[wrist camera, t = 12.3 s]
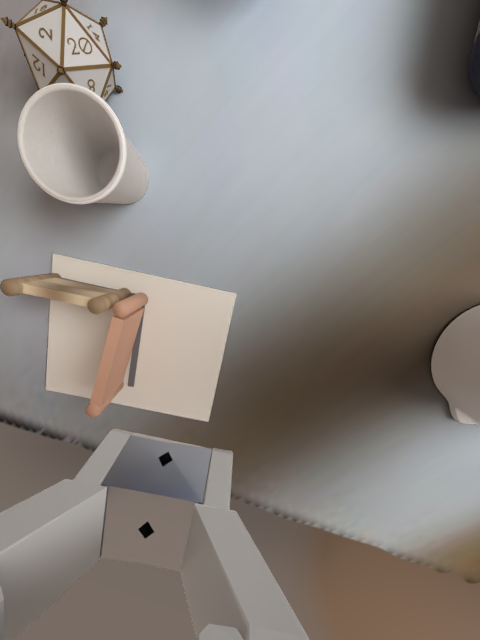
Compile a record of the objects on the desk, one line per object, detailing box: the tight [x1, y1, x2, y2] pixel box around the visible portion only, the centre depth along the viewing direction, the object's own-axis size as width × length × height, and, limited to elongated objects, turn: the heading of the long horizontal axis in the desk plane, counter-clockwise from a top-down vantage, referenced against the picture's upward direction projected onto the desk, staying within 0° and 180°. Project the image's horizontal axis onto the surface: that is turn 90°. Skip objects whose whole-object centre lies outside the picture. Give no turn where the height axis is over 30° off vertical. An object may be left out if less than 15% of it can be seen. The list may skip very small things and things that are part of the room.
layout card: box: [46, 254, 237, 422], centre depth 36 cm, size 22×18×1 cm
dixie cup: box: [17, 83, 149, 204], centre depth 26 cm, size 8×8×10 cm
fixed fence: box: [0, 273, 131, 314], centre depth 31 cm, size 10×2×7 cm, turn 78°
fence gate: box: [85, 292, 148, 418], centre depth 32 cm, size 14×2×6 cm, turn 160°
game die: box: [1, 0, 123, 101], centre depth 25 cm, size 9×8×10 cm
